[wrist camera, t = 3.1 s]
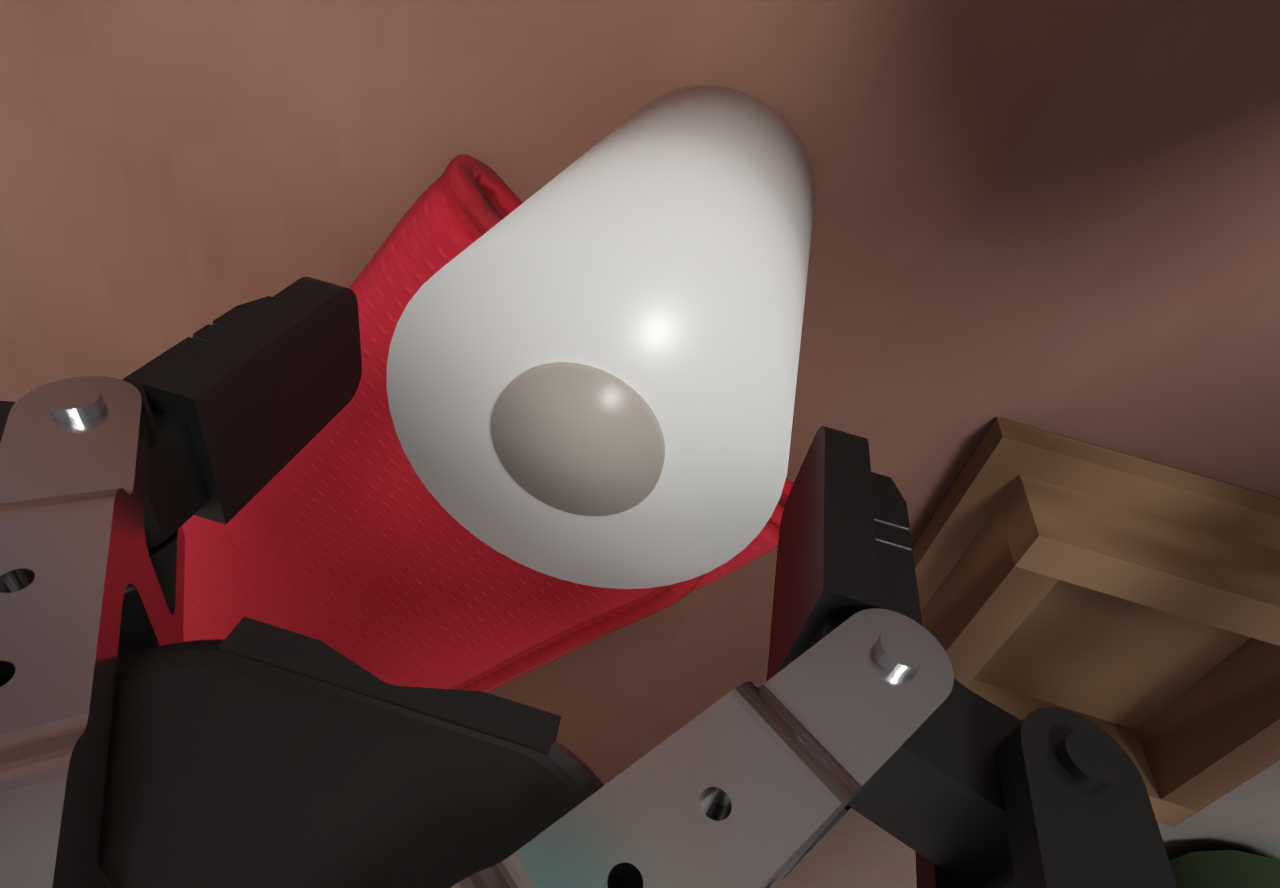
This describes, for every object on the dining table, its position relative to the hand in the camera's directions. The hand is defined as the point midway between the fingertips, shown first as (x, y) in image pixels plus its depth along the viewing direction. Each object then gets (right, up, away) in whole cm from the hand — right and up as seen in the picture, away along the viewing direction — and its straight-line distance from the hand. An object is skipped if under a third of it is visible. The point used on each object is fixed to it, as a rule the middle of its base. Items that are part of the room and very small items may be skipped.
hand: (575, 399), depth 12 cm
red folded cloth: (-12, -7, +21) cm, 25 cm away
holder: (+16, -6, +11) cm, 21 cm away
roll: (+3, +5, +6) cm, 9 cm away
